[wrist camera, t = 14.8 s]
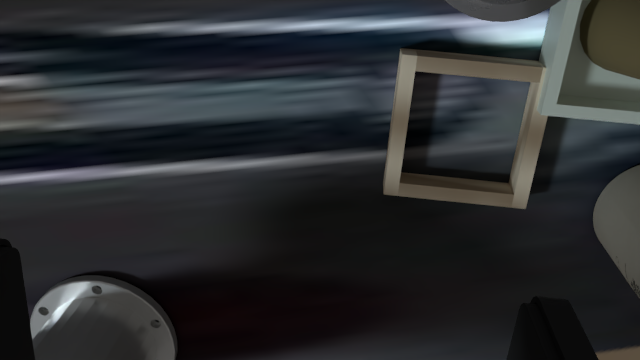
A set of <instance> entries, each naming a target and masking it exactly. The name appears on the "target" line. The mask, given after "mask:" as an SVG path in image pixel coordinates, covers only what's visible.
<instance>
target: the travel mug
mask: <svg viewBox="0 0 640 360" xmlns="http://www.w3.org/2000/svg"><path fill="white" fill-rule="evenodd" d="M593 226H594V230H595V233H596V236H597V237H598V239H599V241H600V242H601V244H602V245H603V247H604V248H605V249H606V251H607V252H608V254H609V255H610V257H611V258H612V260H613V261H614V263H615V264H616V266H617V267H618V268H619V270H620V271H621V273H622V274H623V276H624V277H625V279H626V280H627V282H628V283H629V285H630V286H631V287H632V289H633V290H634V292H635V293H636V295H637V296H638V298H639V299H640V165H638V166H635V167H633V168H631V169H628V170H626V171H625V172H623V173H621V174H620V175H618V176H617V177H616V178H615V179H613V180H612V181H611V182H610V183H609V184H608V185H607V186H606V187H605V189H604V190H603V191H602V193H601V194H600V196H599V198H598V200H597V202H596V205H595V208H594V212H593Z"/></svg>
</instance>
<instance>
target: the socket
mask: <svg viewBox="0 0 640 360" xmlns="http://www.w3.org/2000/svg"><path fill="white" fill-rule="evenodd" d="M415 71H418V72H429V73H439V74H450V75H461V76H471V77H482V78H493V79H504V80H514V81H525V82H531V83H530V88H529V92H528V97H527V101H526V106H525V110H524V115H523V120H522V124H521V129H520V133H519V138H518V142H517V147H516V151H515V156H514V160H513V165H512V169H511V174H510V178H509V183H503V182H493V181H483V180H473V179H463V178H453V177H443V176H433V175H423V174H413V173H403V172H401V169H402V162H403V154H404V147H405V140H406V133H407V126H408V119H409V112H410V105H411V98H412V91H413V84H414V77H415ZM545 72H546V67H545V66H544V65H543V64H542V63H541V62H539V61H536V60H525V59H514V58H503V57H492V56H481V55H470V54H459V53H448V52H438V51H427V50H416V49H405V48H401V49H400V57H399V64H398V72H397V80H396V87H395V95H394V103H393V111H392V118H391V126H390V134H389V142H388V149H387V157H386V165H385V172H384V180H383V193H384V195H393V196H403V197H413V198H423V199H432V200H442V201H452V202H462V203H472V204H481V205H491V206H501V207H511V208H520V209H526V205H527V201H528V197H529V193H530V189H531V184H532V180H533V176H534V172H535V168H536V163H537V159H538V155H539V151H540V147H541V143H542V138H543V134H544V130H545V126H546V122H547V117H548V116H545V115H540V113H539V112H538V111H537V106H538V102H539V98H540V93H541V89H542V85H543V80H544V76H545Z"/></svg>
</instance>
